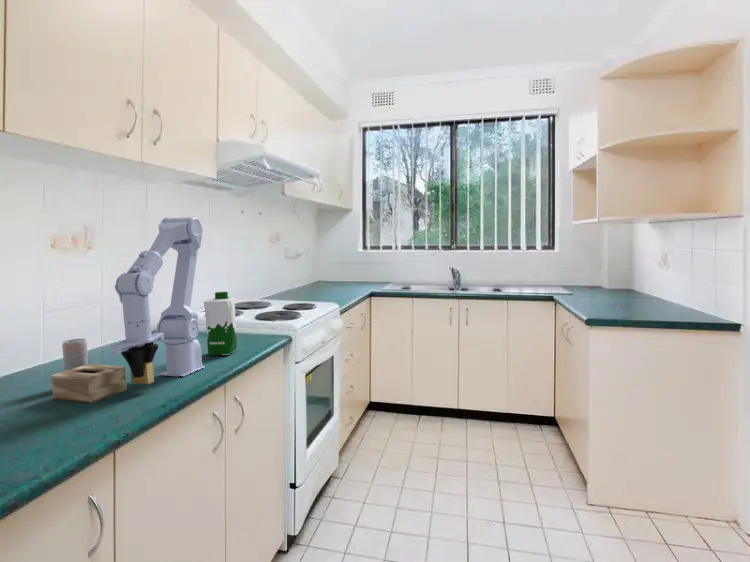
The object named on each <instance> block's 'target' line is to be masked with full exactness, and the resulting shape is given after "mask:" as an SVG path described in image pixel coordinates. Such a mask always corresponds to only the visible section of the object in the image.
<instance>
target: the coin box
mask: <svg viewBox="0 0 750 562" xmlns="http://www.w3.org/2000/svg"><path fill="white" fill-rule="evenodd" d="M126 376H127V375H126V366H123V365H110V364H109V365H108V364H93V363H92V364H91V363H89V364H87V365H83V366H80V367H77V368H73V369H70V370H67V371H65V370H63V371H61V372H57V373H54V374H51V375H50V378H51V379H50V381H51V382H50V383H51V391H52V400H54V401H60V402H61V401H62V402H64V401H65V402H73V403H82V404H94V403H97V402H99V401H100V402H101V401H102V400H104V399H107V398H110V397H113V396H115V395H118V394H120V393H122V392H124V391H127V390H128V388H127V377H126Z"/></svg>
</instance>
